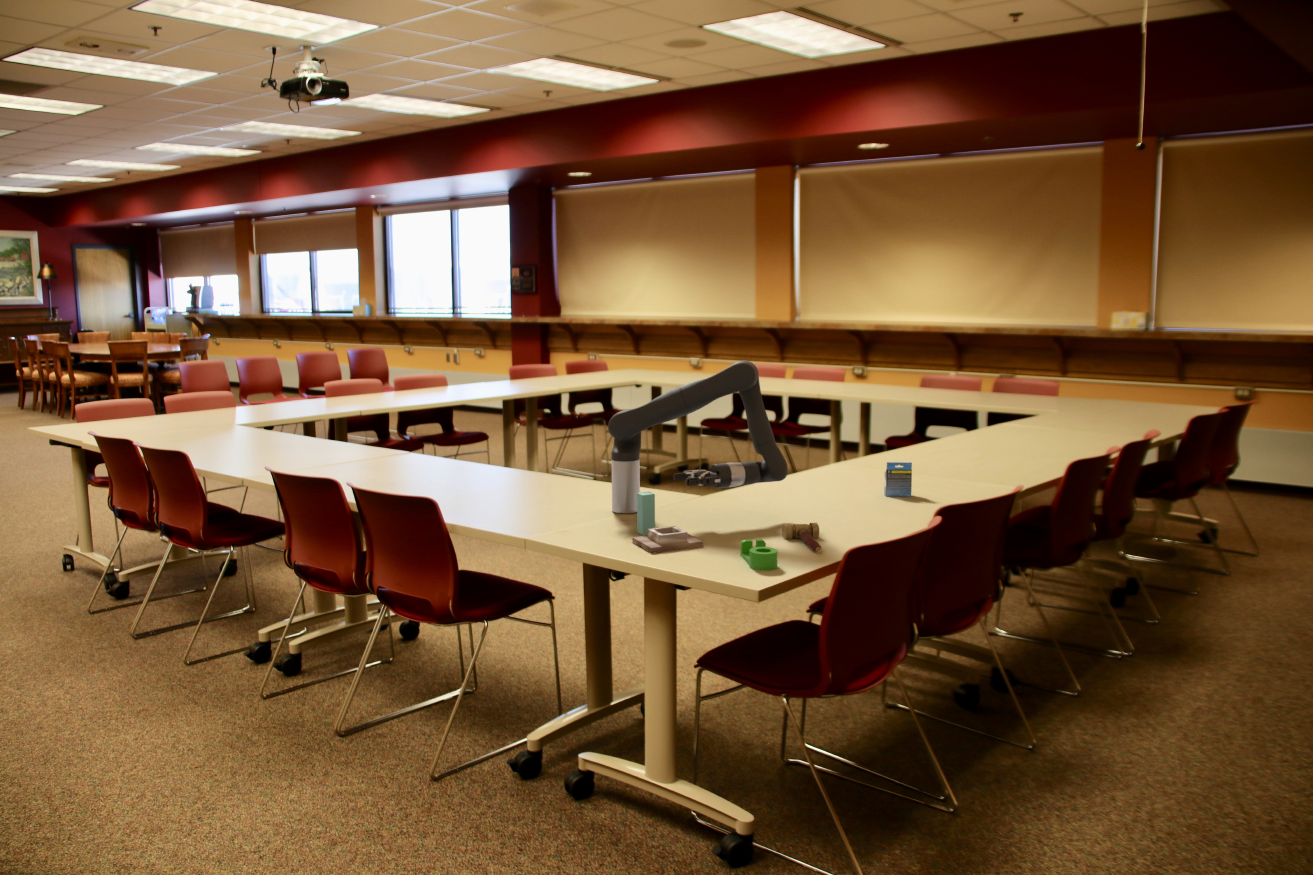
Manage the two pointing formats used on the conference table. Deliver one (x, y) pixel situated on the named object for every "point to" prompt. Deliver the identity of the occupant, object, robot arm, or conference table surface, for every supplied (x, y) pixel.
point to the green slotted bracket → (759, 555)
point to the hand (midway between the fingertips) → (679, 479)
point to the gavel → (803, 534)
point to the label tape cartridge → (898, 479)
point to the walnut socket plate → (667, 540)
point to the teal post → (645, 512)
